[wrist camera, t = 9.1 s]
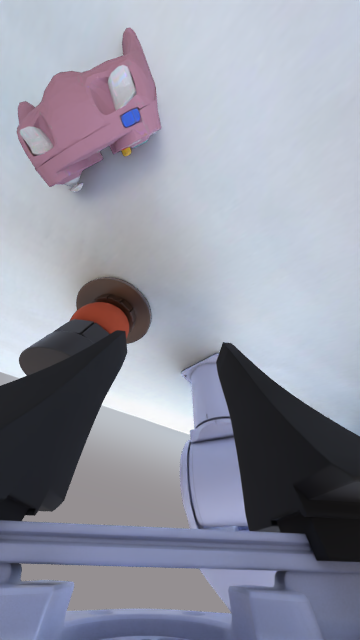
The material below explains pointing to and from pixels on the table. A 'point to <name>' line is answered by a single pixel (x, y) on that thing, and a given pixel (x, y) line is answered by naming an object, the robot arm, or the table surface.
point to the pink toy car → (90, 115)
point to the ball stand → (119, 303)
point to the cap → (61, 345)
